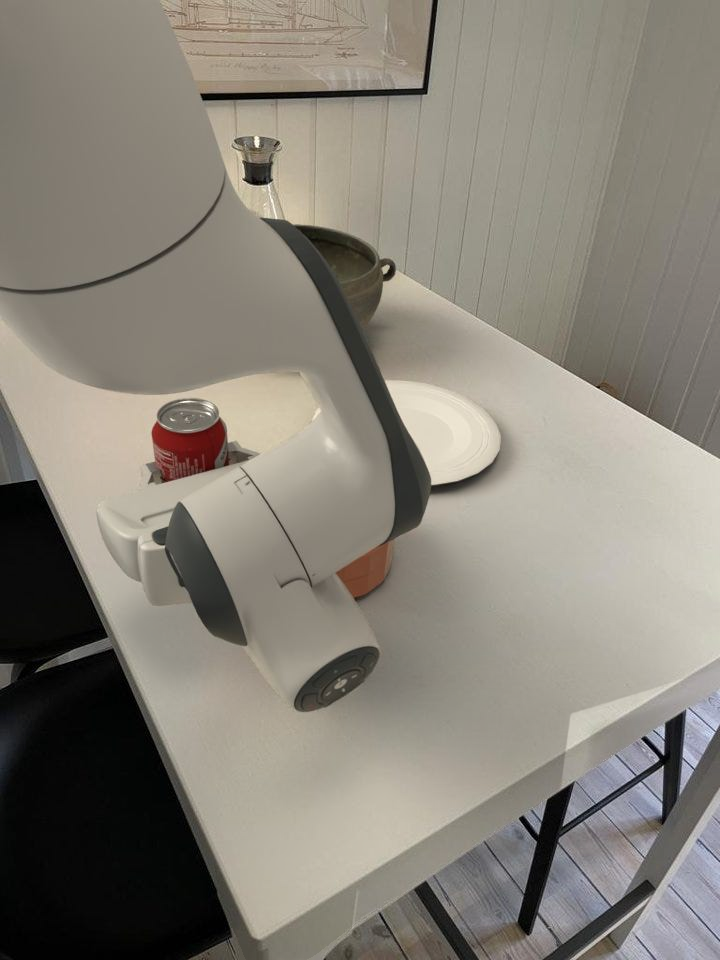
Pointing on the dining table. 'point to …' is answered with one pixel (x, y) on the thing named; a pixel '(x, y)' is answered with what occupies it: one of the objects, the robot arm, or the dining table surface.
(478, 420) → the plate
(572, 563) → the dining table surface
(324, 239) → the bowl
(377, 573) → the clay bowl
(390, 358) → the dining table surface
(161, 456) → the soda can
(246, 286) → the robot arm
